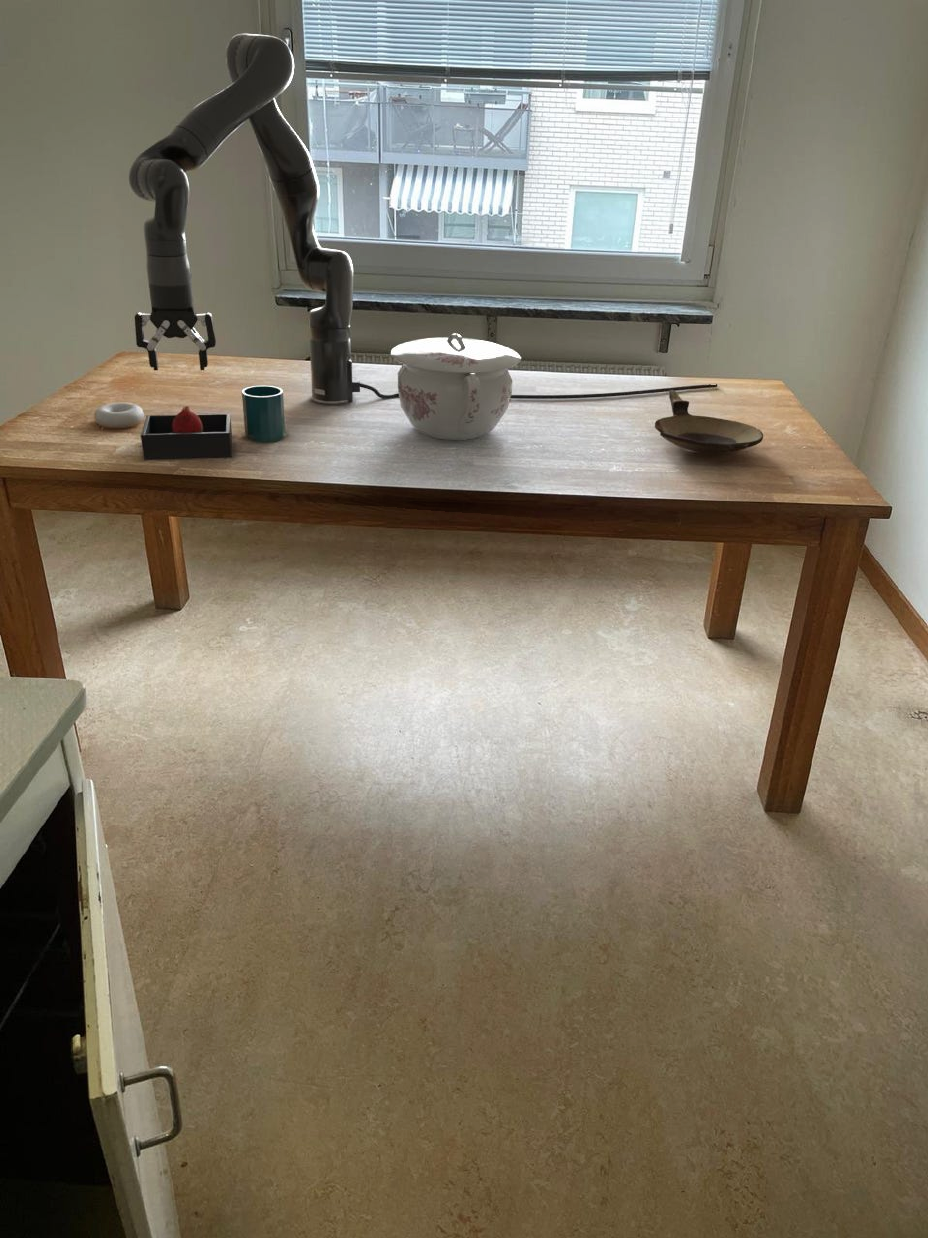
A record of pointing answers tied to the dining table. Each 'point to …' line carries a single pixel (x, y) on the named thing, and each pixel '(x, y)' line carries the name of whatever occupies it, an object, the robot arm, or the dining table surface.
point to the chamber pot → (454, 385)
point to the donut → (119, 415)
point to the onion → (187, 422)
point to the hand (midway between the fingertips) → (179, 369)
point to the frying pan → (705, 430)
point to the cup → (263, 413)
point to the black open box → (187, 438)
